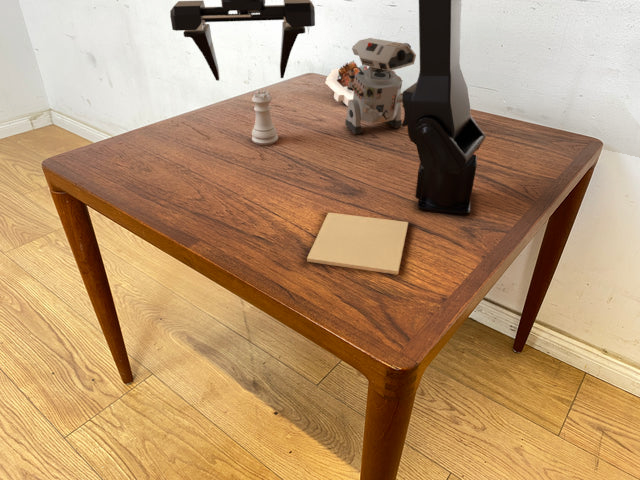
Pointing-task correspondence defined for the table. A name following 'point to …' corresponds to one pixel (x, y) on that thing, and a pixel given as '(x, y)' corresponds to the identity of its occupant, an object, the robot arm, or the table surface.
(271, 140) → the rook chess piece
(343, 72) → the mineral specimen
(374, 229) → the cork mat
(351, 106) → the figurine
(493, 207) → the table surface
